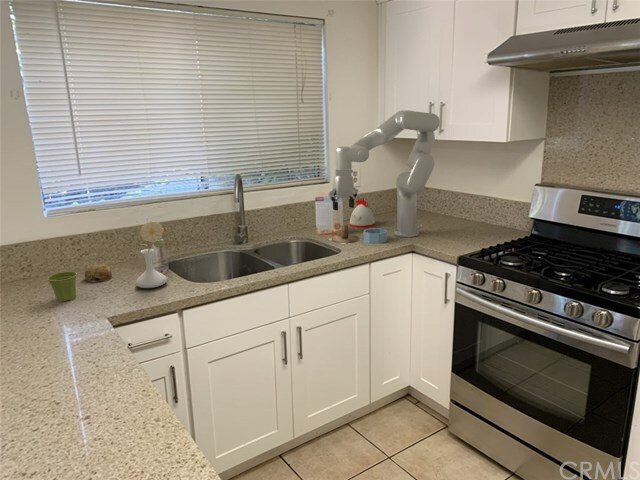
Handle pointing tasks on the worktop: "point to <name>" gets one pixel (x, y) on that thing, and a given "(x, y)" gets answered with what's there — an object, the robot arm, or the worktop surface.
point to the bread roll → (98, 273)
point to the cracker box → (328, 215)
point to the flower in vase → (151, 276)
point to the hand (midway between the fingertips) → (343, 208)
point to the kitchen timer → (362, 215)
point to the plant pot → (63, 285)
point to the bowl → (375, 235)
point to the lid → (344, 236)
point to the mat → (345, 243)
